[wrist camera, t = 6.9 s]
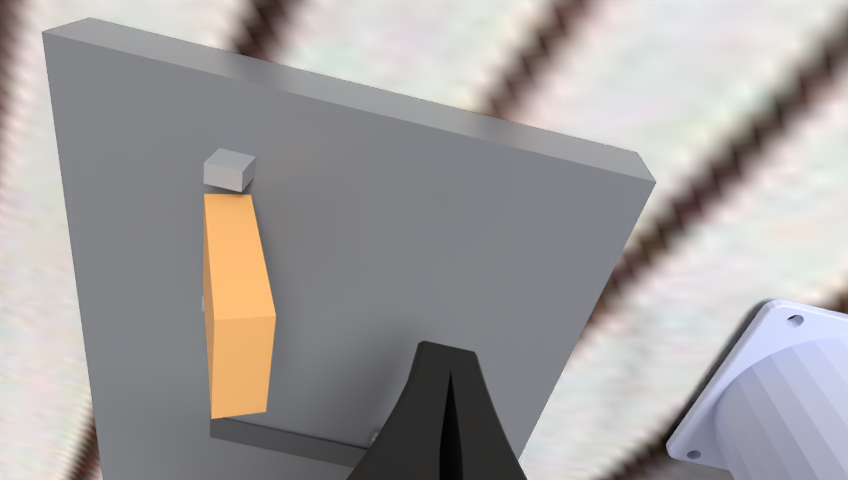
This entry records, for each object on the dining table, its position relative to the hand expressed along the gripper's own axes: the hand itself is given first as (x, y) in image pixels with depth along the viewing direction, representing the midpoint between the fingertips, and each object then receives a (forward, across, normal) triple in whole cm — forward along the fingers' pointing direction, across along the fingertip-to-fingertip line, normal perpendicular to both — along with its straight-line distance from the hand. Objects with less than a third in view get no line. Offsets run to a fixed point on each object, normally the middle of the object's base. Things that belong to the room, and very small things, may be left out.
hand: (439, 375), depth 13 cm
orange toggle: (+3, +6, 0) cm, 7 cm away
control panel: (+6, +3, +9) cm, 11 cm away
